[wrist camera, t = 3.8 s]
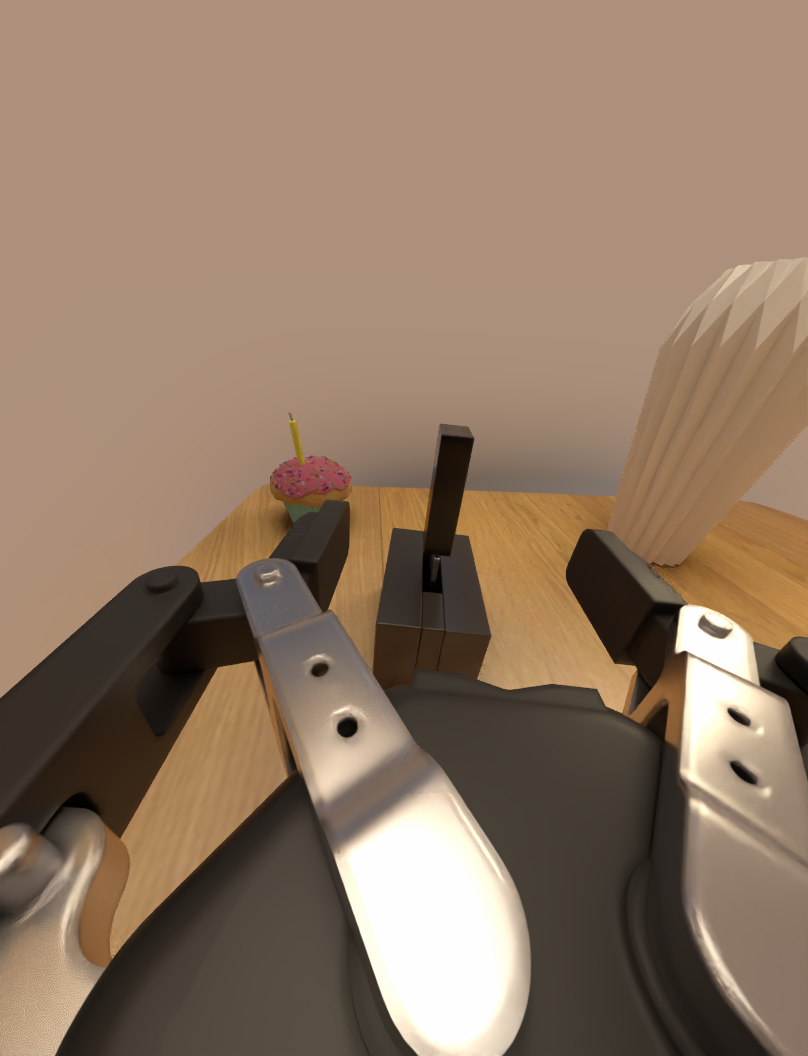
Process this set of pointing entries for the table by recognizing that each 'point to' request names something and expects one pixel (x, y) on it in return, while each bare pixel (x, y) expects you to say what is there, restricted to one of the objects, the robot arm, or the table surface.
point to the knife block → (429, 613)
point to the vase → (716, 409)
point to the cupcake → (308, 481)
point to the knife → (445, 495)
